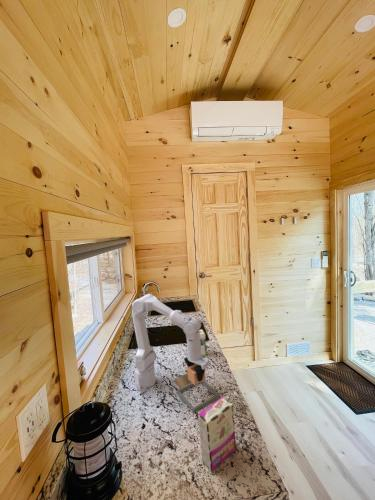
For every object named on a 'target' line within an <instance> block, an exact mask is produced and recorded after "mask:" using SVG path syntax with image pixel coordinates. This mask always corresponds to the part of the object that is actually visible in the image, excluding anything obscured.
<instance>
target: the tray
mask: <svg viewBox="0 0 375 500" xmlns="http://www.w3.org/2000/svg"><path fill="white" fill-rule="evenodd" d="M200 383H201V384H202V385H203V386H204V387H205V388H207V390H209V391H210V392H211V393H212V394H213V396H211V397H210V398H208V399H206V400H204V401H202V402H201V403H199V404H197V405H195V406H193V405H192V404H191V403H190V401H189V400H188V399H187V398H186V397H185V396H184V394H182V392H185V391H186V390H189V389H190V388H192V387H195V386H196V385H194V384H193V383H190V384H188V385H186V386H184V387H182V388H178V389H177V390H176V391H175V393H176V395H177V396H178V397H179V399H181V400H182V401H183V402H184V404H185V405H186V406H187V407H188V409H190V411H191V412H192V413H195V412H198V411H199V410H200V409H203V408H205V407H206V406H207V405H209V404H211V403H214V402H215V401H217V400H219V399H220V398H221V395H220V393H219V392H218V391H216V390H215V389H214V388H213V387H212V386H211V385H210V384H208V382H206V380H204V381H202V382H200ZM200 383H199V384H200Z"/></svg>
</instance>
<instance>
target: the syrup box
mask: <svg viewBox="0 0 375 500" xmlns="http://www.w3.org/2000/svg"><path fill="white" fill-rule="evenodd" d="M199 332H200V345H201V353H202V354H203V356H202V357H206V356H208V354H207V353H208V352H207V343H206V339H207V338H206V332H205V331H204V330H203V329H201V328H200V329H199Z"/></svg>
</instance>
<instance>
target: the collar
mask: <svg viewBox="0 0 375 500" xmlns="http://www.w3.org/2000/svg"><path fill="white" fill-rule="evenodd" d="M196 365H198V364H194V365H192V366H190V367H188V366H187V368H186V369H187V373H186V374H188V379H189V380H190V381H191V382H192V383H193V384H194V385H195V386H197V385H198V384H200V382H202V381H206V370H205V371H204V375H203V380H201V381H200V382H199V381H198V380H197V375H196V371H195V369H194V368H193V367H194V366H196Z"/></svg>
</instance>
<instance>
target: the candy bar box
mask: <svg viewBox="0 0 375 500" xmlns="http://www.w3.org/2000/svg"><path fill="white" fill-rule="evenodd" d="M197 418H198V419H197V420H198V428H199V438H200V439H199V440H200V449H201V450H200V451H201V460H202V462H203V463H204V464H205V466H206V467H207V468H208V469H209V471H210V472H213V471H214V470H215V469H216V468H217V467H219V466H220V465H221V464H222V463H223V462H224V461H225V460H226V459H228V457H230V456H231V455H232V454H233V453H234V452H235V451H236V450H237V445H236V443H237V442H236V432H235V431H236V430H235V421H234V420H235V419H234V418H235V417H234V409H233V403H232V402H230V401H229V400H227V399H226V398H225V397H223V396H221V397H220V398H218V399H216V400H215V401H213V402H212V404H210V405H209V406H207V407H206V408H204V409H203V410H201V411H200V412H199V413H197Z"/></svg>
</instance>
